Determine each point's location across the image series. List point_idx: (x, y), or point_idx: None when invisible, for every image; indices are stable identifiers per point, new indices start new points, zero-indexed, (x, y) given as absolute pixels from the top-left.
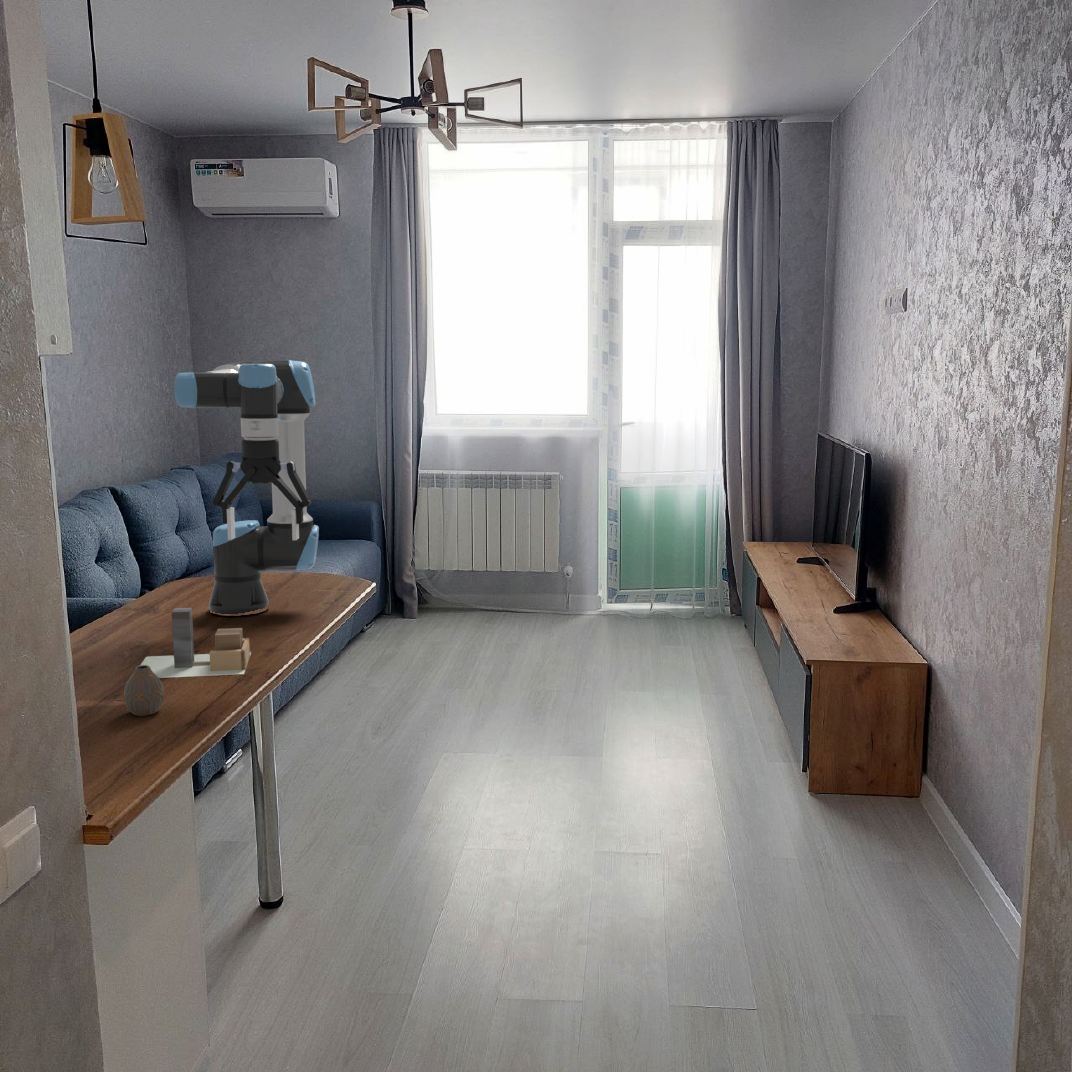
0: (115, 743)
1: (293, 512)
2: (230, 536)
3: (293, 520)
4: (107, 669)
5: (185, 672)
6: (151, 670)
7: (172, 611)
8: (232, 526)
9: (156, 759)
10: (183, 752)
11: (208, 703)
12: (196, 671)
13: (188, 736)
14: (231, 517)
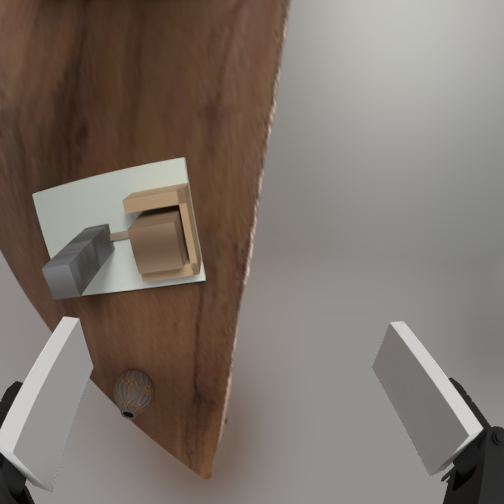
0: (154, 425)
1: (432, 461)
2: (86, 378)
3: (414, 431)
4: (13, 234)
5: (116, 272)
6: (137, 410)
7: (51, 293)
8: (67, 393)
9: (200, 443)
10: (215, 436)
11: (191, 359)
12: (129, 268)
13: (206, 418)
14: (57, 442)
